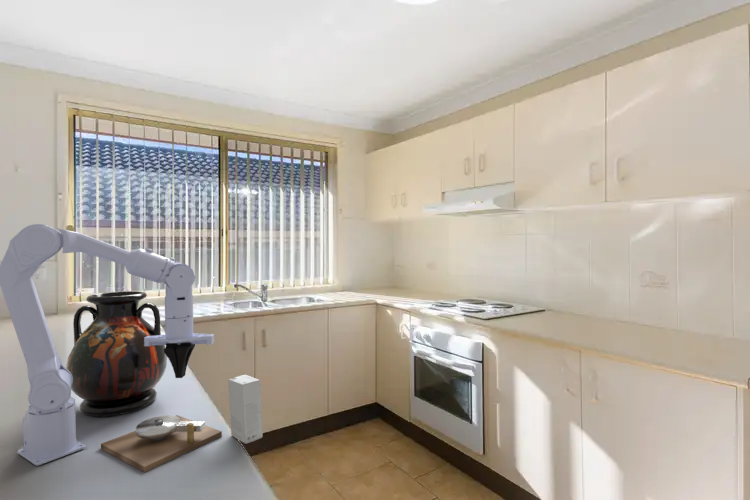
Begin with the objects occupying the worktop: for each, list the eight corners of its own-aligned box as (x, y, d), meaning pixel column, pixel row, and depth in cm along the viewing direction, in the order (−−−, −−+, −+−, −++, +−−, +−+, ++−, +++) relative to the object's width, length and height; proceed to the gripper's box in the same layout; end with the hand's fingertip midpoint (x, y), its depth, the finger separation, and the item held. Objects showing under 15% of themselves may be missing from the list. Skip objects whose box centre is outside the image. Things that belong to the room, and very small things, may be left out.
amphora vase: (48, 429, 91) (45, 301, 91) (87, 394, 112) (85, 291, 112) (157, 417, 97) (154, 297, 96) (175, 386, 118) (173, 287, 117)
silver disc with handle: (127, 438, 80) (127, 429, 80) (150, 421, 88) (150, 412, 88) (193, 438, 80) (193, 429, 80) (211, 420, 88) (210, 412, 88)
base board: (100, 448, 82) (100, 426, 82) (176, 419, 96) (176, 399, 95) (144, 472, 73) (144, 446, 73) (221, 436, 87) (221, 414, 87)
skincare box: (263, 437, 86) (262, 379, 86) (243, 445, 83) (242, 384, 83) (248, 428, 90) (247, 373, 90) (228, 435, 87) (227, 378, 87)
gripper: (136, 320, 89) (138, 383, 89) (206, 318, 90) (207, 381, 90) (152, 314, 96) (153, 373, 96) (216, 313, 97) (217, 371, 97)
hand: (180, 376), depth 94 cm, fingers closed
